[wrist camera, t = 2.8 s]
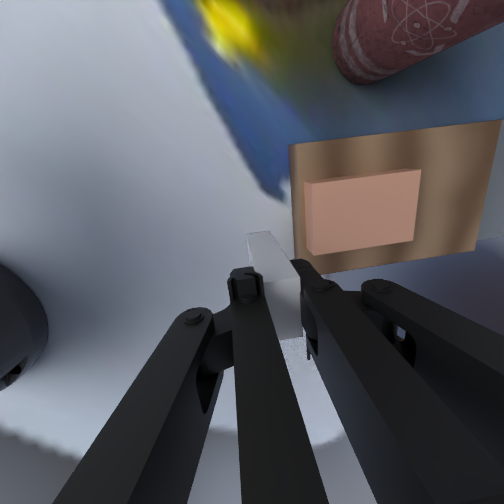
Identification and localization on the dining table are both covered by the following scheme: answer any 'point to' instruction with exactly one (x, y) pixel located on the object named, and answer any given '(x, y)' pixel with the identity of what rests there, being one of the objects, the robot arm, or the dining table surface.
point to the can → (404, 33)
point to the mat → (494, 196)
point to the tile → (361, 210)
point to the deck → (430, 190)
